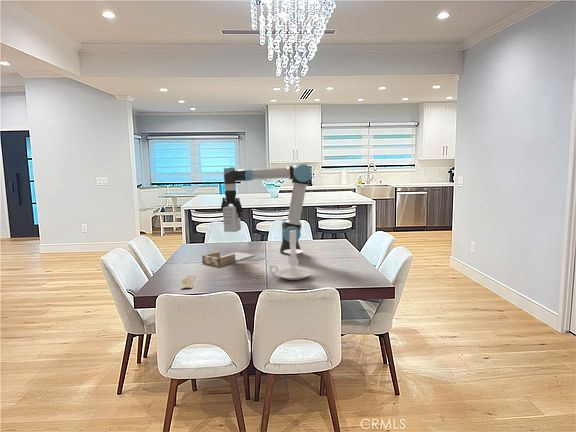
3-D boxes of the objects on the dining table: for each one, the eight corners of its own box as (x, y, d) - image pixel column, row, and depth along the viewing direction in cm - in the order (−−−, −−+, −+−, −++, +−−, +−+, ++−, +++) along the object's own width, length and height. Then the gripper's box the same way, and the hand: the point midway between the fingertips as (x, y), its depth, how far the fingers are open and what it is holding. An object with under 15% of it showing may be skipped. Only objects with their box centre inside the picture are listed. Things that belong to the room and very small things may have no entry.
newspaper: (192, 290, 209) (192, 286, 208) (178, 291, 207) (178, 287, 207) (194, 277, 232) (194, 274, 231) (182, 278, 230) (182, 275, 230)
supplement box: (236, 232, 267) (235, 207, 264) (223, 232, 268) (222, 207, 266) (241, 229, 276) (239, 205, 274) (228, 229, 278) (227, 205, 275)
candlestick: (264, 276, 230) (263, 228, 226) (304, 271, 238) (303, 225, 234) (274, 286, 211) (273, 234, 207) (317, 280, 219) (317, 230, 215)
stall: (235, 261, 265) (235, 254, 265) (219, 266, 254) (219, 258, 253) (218, 258, 275) (218, 251, 274) (202, 262, 263) (202, 255, 262)
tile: (254, 256, 280) (254, 254, 280) (237, 261, 266) (237, 259, 266) (236, 253, 290) (236, 252, 290) (220, 257, 276) (219, 256, 276)
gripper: (213, 190, 272) (215, 221, 275) (239, 190, 259) (241, 223, 261) (221, 189, 278) (223, 220, 281) (247, 189, 265) (248, 222, 267)
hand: (232, 221), depth 271 cm, fingers closed on supplement box, 11 cm apart
